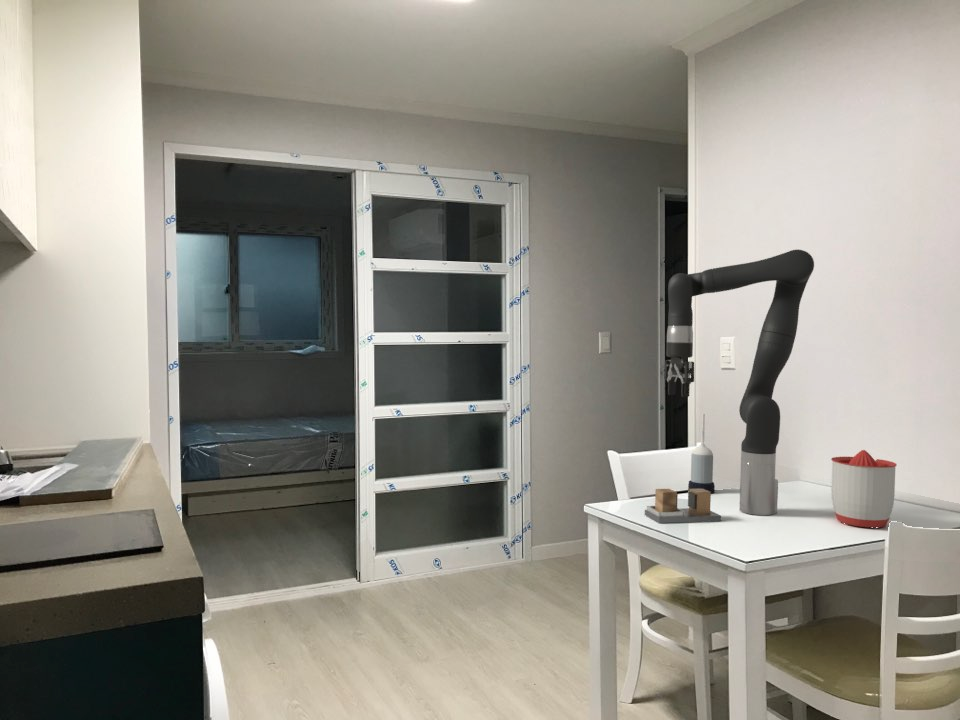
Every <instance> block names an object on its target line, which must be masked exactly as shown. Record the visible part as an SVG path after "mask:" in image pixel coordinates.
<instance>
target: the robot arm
mask: <svg viewBox="0 0 960 720" xmlns="http://www.w3.org/2000/svg"><path fill="white" fill-rule="evenodd" d="M814 268H815V261H814V258H813V256H812V255H811V254H810V252H808V251H805V250H802V249H792V250H788V251H786V252H784V253H781V254H778V255H774V256H771V257H767V258H763V259H760V260H755V261H751V262H745V263H740V264H732V265H727V266H721V267H720V266H719V267H716V268H709V269H705V270H703V271H700V272H694V273H683V272H681V273H676V274H673V275H672V277H670V279H669V280H668V285H667V287H668V288H667V290H668V293H667V296H668V297H667V298H668V316H667V318H668V320H667V325H668V326H667V331H666V354H665V355H666V357H668V358H670V359H665V362H664V380H666V381H667V395H669V396H670V395H672V396H673V395H676V392H677V379H678V378H679V379H680V382H681V390H680V392H681V397H683V398H689V397H690V387H691V384H692V383H694V382H695V361H689V359H690V358H693V356H694V355H693V351H694V348H693V347H694V331H693V329H694V328H693V322H694V321H693V319H694V317H693V316H694V315H693V308H692V303H693V297H697V296H701V295H704V294H713V293H720V292H725V291H731V290H732V291H733V290H736V289H737V290H738V289H740V288H744V287H747V286H751V285H754V284H758V283H764V282H772V281H773V282H774V281H775V287H774V288H775V289H774V293H773V298H772V301H771V303H770V305H769V308H768V311H767V313H766V315H765V319H764V321H763V324H762V327H761V331H760V335H759V337H758V343H757V347H756V352H755V356H754V360H753V364H752V369H751V374H750V377H749V380H748V383H747V384H746V385H747V386H746V389H745V391H744V393H743V396H742V399H741V401H740V404H739V416H740V418H741V420H742V422H743V423H745V424H746V425H745V426H746V428H745V437H744V439H743V440H742V441H741V445H740V447H741V449H740V452H741V453H740V478H739V479H740V481H739V482H740V483H739V511H740V512H741V513H745V514H749V515H757V516H771V515H774V514H778V497H779V496H778V495H779V480H778V479H776V462H777V461H776V458H777V456H776V455H777V447H778V445H779V442H780V441H779V440H780V429H781V410H780V407H779V404H778V403H777V402H776V401H775V399H772V398H773V394H774V389H775V386H776V382H777V380H778V377H779V376H780V374H781V372H782V371H783V369H784V368H785V366H786V364H787V363H788V361H789V360H790V359H789V358H790V357H791V354H792V351H793V347H794V344H795V341H796V335H797V331H798V323H799V313H800V305H801V300H802V299H803V298H802V297H803V294H804V292H805V289H806V286H807V284H808V282H809V280H810V277H811V276H812V274H813V271H814Z"/></svg>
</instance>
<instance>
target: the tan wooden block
mask: <svg viewBox="0 0 960 720" xmlns="http://www.w3.org/2000/svg"><path fill="white" fill-rule="evenodd" d="M654 491H655V496H654V498H655V500H654V501H655V502H654V506H655V510H657V511H659V512H676V509H677V508H678V492H677V491H675V490H672V489H671V488H655V490H654Z"/></svg>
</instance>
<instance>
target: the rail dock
mask: <svg viewBox="0 0 960 720" xmlns="http://www.w3.org/2000/svg"><path fill="white" fill-rule="evenodd" d="M711 496H712V494H711V492H710V491H707V490H705V489H689V491H688V494H687V506H688V508H685V507H684V508H679V507H677V509H676V512H659V511H657V510H655V505H646V509H644V516H645V515H646V516H645V517H646V518H649V519H651V520H652V521H654V522H655V523H658V524H677V523H678V524H679V523H702V522H703V523H705V522H706V523H707V522H722V515H720V514H719V513H716V512H714V511H712V510H711V500H712V499H711Z"/></svg>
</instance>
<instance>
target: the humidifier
mask: <svg viewBox="0 0 960 720" xmlns="http://www.w3.org/2000/svg"><path fill="white" fill-rule="evenodd" d="M701 415H702V416H701V433H700V434H701V436H700V437H701V438H700V444H699V445H698V446H696V447H695V448H694V449H693V450H692V452H691V455H690V456H691V459H690V480H689V481H688V484H687V485H688V487H687V488H688V489H687V491H688V492H689V489H705V490H707V491H710V492H711V495H712V494H714V493H715V482H713V475H714V472H713V471H714V454H713V452H712V450H711V449H710V448H709V447H707V446H706V444H705V413H702V414H701Z"/></svg>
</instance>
